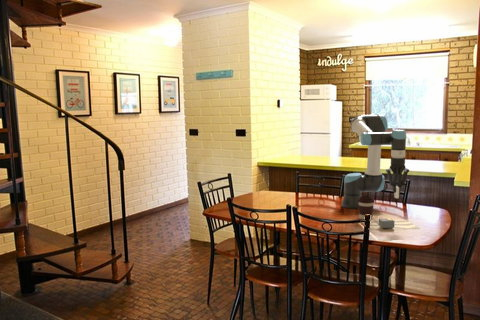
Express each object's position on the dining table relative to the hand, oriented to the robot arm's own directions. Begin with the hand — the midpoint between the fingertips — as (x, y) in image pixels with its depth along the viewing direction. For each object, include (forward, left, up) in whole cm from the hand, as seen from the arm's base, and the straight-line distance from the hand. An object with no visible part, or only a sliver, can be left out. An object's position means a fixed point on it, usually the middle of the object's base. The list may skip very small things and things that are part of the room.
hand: (396, 197), depth 229 cm
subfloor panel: (-2, -3, -18) cm, 18 cm away
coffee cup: (-17, -12, -18) cm, 28 cm away
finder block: (+4, -7, -17) cm, 18 cm away
